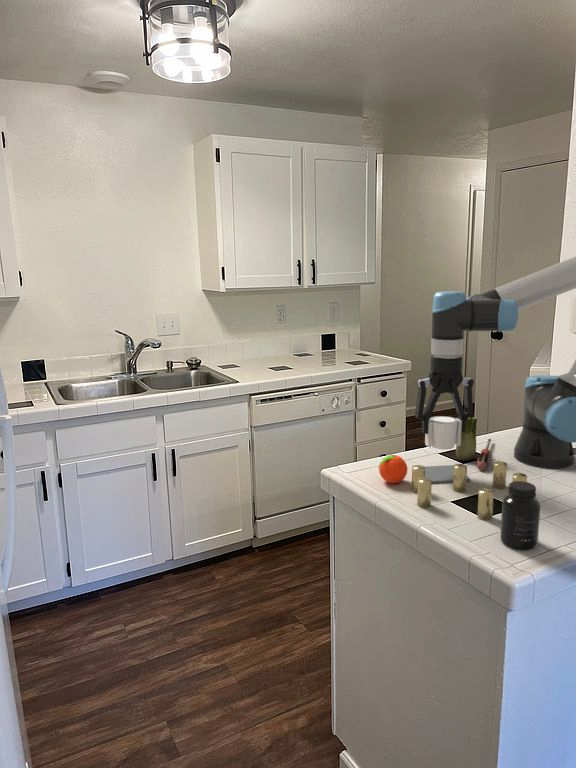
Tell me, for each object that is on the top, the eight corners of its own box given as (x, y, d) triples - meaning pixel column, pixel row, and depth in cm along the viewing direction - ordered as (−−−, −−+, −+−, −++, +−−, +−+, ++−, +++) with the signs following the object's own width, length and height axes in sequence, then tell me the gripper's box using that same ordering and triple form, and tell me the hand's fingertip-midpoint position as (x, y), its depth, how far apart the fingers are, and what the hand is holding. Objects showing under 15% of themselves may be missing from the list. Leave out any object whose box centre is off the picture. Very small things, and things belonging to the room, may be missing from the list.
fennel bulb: (474, 456, 160) (476, 415, 158) (478, 463, 156) (480, 420, 153) (453, 456, 161) (454, 415, 158) (456, 463, 156) (458, 420, 154)
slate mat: (456, 467, 153) (456, 464, 153) (470, 481, 143) (470, 479, 143) (415, 469, 152) (415, 467, 152) (427, 483, 143) (427, 481, 143)
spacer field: (506, 483, 142) (507, 460, 140) (544, 517, 124) (546, 490, 122) (406, 489, 140) (406, 465, 139) (430, 523, 122) (430, 497, 121)
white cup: (457, 450, 142) (459, 423, 141) (429, 449, 144) (430, 422, 142) (455, 442, 149) (456, 415, 147) (428, 441, 150) (429, 415, 149)
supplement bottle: (495, 534, 117) (498, 478, 114) (529, 534, 116) (533, 478, 114) (506, 551, 110) (510, 492, 107) (543, 551, 110) (548, 492, 107)
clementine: (386, 490, 139) (387, 462, 138) (369, 481, 145) (370, 454, 144) (412, 484, 143) (413, 456, 141) (395, 475, 149) (395, 448, 147)
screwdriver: (484, 443, 172) (484, 433, 172) (494, 444, 171) (495, 434, 170) (474, 471, 150) (475, 461, 150) (486, 473, 149) (487, 462, 148)
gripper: (479, 351, 145) (474, 438, 151) (402, 354, 144) (400, 441, 149) (492, 356, 138) (486, 448, 143) (411, 359, 137) (408, 451, 142)
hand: (442, 444), depth 146 cm, fingers closed on white cup, 7 cm apart
